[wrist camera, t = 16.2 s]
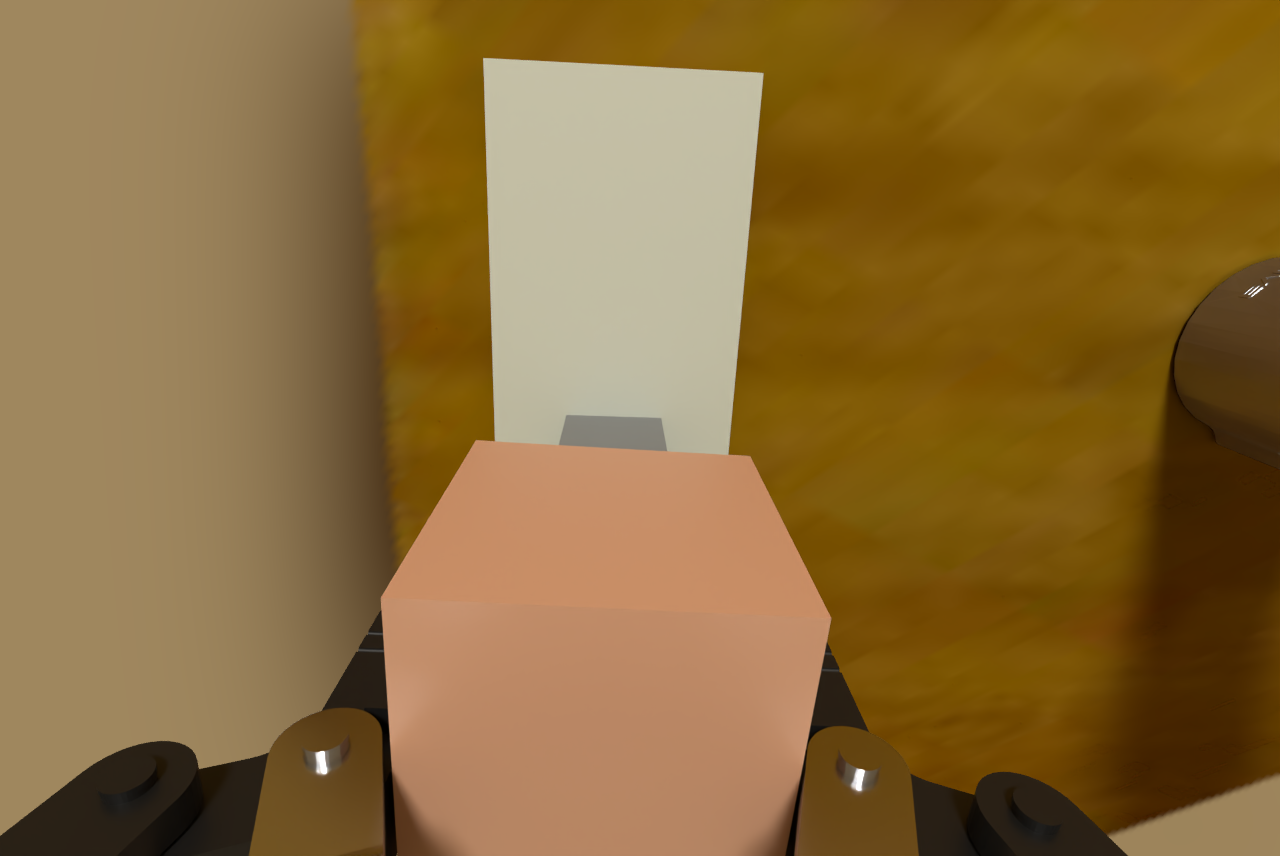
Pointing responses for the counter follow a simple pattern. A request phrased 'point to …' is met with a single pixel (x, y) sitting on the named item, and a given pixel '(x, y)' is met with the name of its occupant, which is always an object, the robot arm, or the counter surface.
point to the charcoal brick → (614, 432)
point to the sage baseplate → (617, 244)
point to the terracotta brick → (600, 659)
